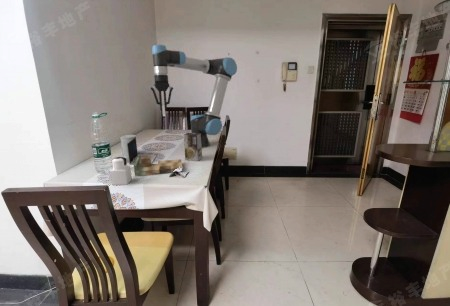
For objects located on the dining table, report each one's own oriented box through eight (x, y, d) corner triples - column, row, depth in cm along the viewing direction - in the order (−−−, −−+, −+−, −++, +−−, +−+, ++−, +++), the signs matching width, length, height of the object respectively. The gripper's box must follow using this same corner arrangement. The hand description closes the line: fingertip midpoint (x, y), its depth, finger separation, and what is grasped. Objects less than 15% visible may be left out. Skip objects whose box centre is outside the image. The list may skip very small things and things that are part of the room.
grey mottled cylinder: (132, 156, 152) (130, 138, 149) (119, 156, 154) (116, 137, 151) (140, 152, 161) (138, 135, 158) (128, 152, 163) (125, 134, 160)
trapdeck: (181, 163, 139) (180, 154, 138) (182, 172, 125) (182, 162, 123) (138, 166, 134) (137, 157, 132) (134, 176, 120) (133, 165, 118)
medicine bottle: (117, 179, 116) (113, 155, 112) (132, 178, 116) (129, 155, 113) (111, 185, 109) (107, 160, 105) (127, 184, 109) (124, 160, 106)
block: (151, 163, 130) (150, 156, 129) (150, 166, 126) (149, 158, 125) (142, 164, 129) (141, 156, 128) (141, 167, 125) (140, 159, 124)
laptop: (151, 164, 138) (149, 143, 134) (129, 165, 137) (126, 143, 133) (156, 155, 155) (155, 136, 152) (137, 156, 154) (134, 137, 150)
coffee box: (202, 158, 148) (201, 133, 144) (198, 161, 143) (197, 135, 138) (189, 157, 151) (188, 132, 147) (184, 159, 145) (183, 134, 141)
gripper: (172, 75, 140) (175, 115, 147) (149, 74, 137) (153, 115, 144) (172, 74, 133) (175, 116, 140) (148, 74, 130) (152, 117, 137)
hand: (164, 116), depth 142 cm, fingers closed
